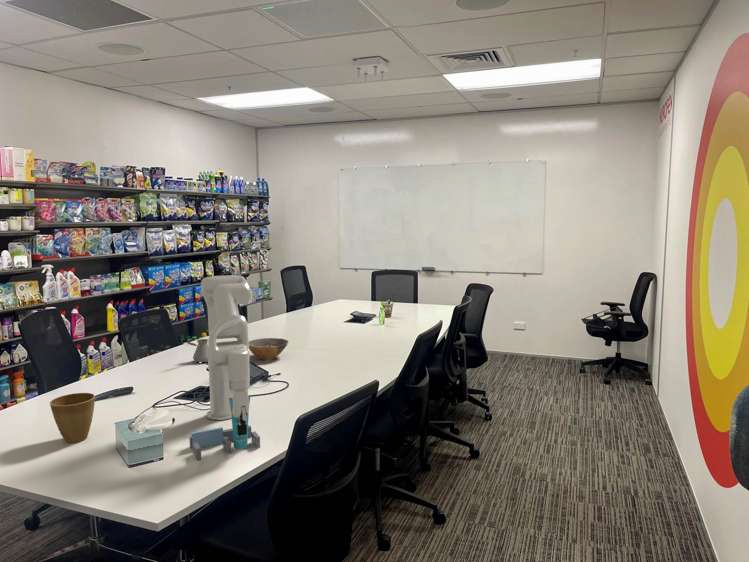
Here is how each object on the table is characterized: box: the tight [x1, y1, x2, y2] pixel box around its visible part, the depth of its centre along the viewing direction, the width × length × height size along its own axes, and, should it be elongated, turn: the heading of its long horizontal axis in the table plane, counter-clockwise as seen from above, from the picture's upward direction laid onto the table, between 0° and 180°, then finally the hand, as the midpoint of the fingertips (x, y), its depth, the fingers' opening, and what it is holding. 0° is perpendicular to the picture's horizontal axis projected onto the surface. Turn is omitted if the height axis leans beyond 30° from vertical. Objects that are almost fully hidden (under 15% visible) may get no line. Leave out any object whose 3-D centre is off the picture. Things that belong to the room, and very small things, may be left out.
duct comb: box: [188, 424, 261, 461], centre depth 199 cm, size 13×22×6 cm, turn 119°
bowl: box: [248, 337, 289, 361], centre depth 327 cm, size 25×25×10 cm
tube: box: [229, 395, 251, 451], centre depth 198 cm, size 7×5×19 cm, turn 113°
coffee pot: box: [185, 338, 209, 363], centre depth 314 cm, size 21×12×15 cm, turn 164°
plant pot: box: [49, 392, 96, 444], centre depth 206 cm, size 15×15×16 cm
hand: (240, 431), depth 198 cm, fingers closed on tube, 4 cm apart
